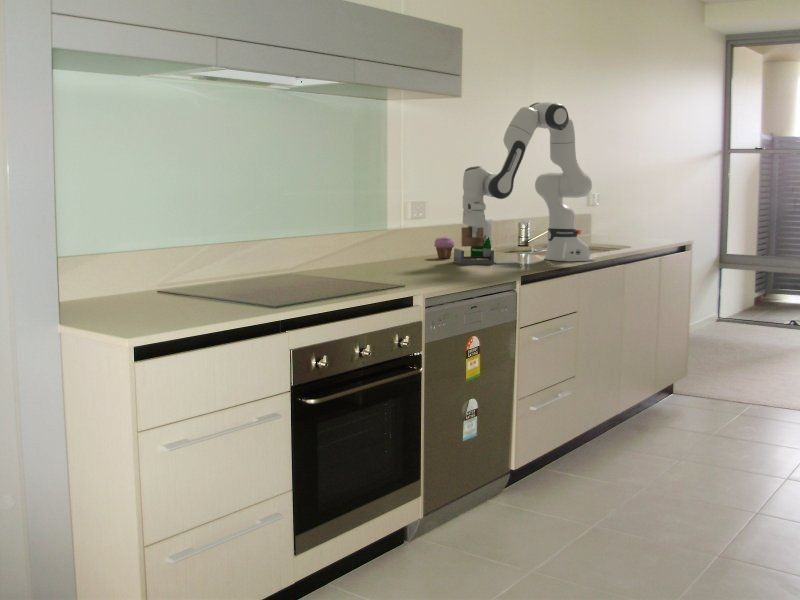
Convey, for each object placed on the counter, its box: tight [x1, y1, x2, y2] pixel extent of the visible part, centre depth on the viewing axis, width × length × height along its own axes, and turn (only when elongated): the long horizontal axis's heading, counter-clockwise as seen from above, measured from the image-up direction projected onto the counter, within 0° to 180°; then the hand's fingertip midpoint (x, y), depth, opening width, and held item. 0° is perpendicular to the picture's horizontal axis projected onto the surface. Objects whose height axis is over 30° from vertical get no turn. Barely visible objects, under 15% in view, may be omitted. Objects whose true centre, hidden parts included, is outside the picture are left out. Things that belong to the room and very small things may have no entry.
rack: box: [453, 248, 495, 266], centre depth 377 cm, size 14×11×6 cm
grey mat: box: [494, 260, 520, 265], centre depth 380 cm, size 10×9×1 cm
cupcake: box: [434, 236, 455, 260], centre depth 397 cm, size 9×9×10 cm
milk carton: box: [470, 214, 494, 256], centre depth 395 cm, size 9×9×20 cm
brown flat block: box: [461, 226, 483, 247], centre depth 379 cm, size 9×2×8 cm, turn 102°
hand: (472, 236), depth 379 cm, fingers closed on brown flat block, 2 cm apart
